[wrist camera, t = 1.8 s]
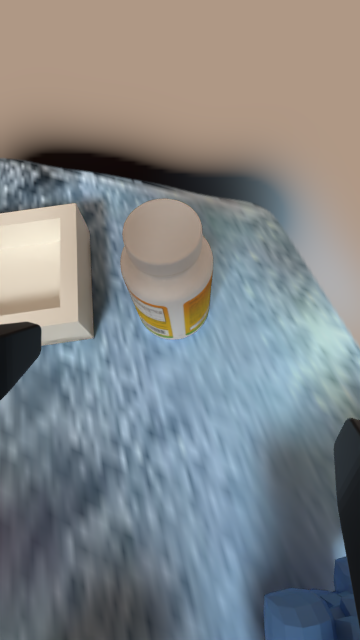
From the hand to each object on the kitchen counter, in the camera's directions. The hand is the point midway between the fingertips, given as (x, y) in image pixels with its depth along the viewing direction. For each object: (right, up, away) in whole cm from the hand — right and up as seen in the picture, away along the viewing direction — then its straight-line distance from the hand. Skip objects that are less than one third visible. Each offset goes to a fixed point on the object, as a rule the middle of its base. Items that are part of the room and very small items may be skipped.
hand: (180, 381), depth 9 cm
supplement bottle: (0, +3, +16) cm, 16 cm away
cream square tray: (-12, +4, +17) cm, 21 cm away
